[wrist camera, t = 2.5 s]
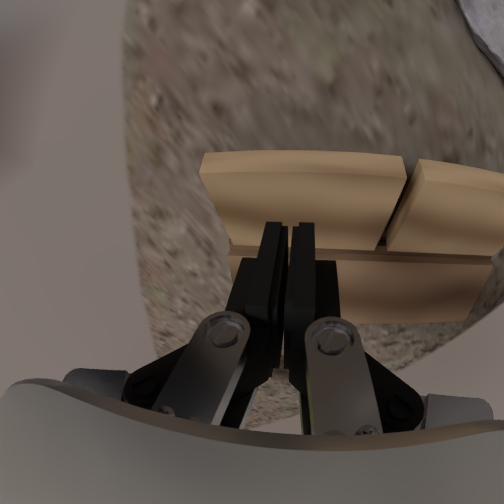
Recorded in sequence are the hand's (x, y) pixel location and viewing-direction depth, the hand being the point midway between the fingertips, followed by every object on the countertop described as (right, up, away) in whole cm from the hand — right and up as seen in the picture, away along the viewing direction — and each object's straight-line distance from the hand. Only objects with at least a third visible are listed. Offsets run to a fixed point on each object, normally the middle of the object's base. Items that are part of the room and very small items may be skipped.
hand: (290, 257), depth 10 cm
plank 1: (+2, +3, +6) cm, 8 cm away
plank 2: (+12, +3, +4) cm, 14 cm away
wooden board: (+8, -2, +12) cm, 15 cm away
